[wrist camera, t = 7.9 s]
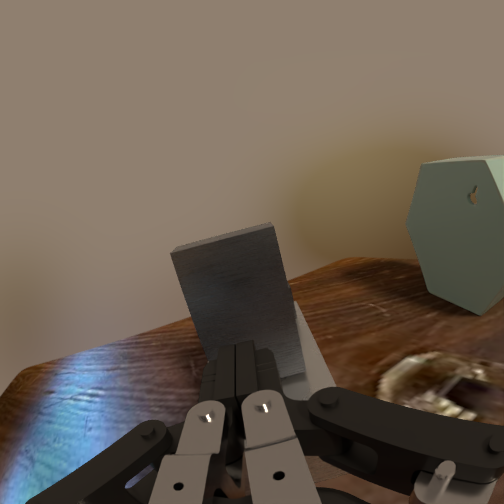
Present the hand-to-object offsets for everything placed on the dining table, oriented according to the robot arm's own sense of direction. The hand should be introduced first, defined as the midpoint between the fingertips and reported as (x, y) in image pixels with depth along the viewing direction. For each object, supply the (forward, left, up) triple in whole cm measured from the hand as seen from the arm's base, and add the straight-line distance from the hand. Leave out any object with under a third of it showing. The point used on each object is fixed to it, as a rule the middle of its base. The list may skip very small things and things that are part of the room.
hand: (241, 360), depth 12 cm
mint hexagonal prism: (+19, +26, -12) cm, 34 cm away
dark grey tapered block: (-4, +10, -6) cm, 12 cm away
